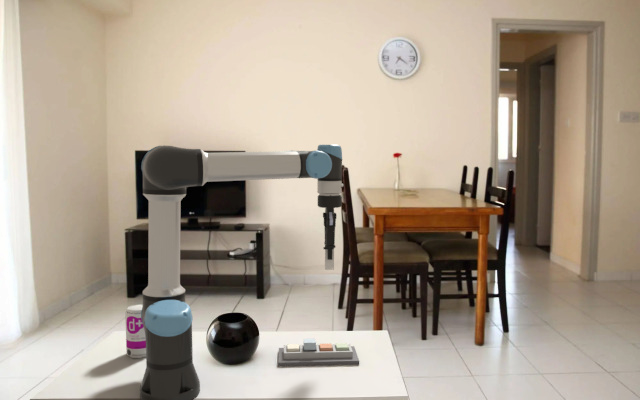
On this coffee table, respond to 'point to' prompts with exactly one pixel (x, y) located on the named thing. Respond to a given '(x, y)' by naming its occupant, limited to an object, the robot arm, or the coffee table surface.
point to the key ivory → (292, 347)
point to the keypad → (317, 357)
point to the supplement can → (135, 332)
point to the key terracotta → (325, 347)
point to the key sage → (342, 347)
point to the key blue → (309, 344)
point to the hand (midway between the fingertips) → (329, 269)
